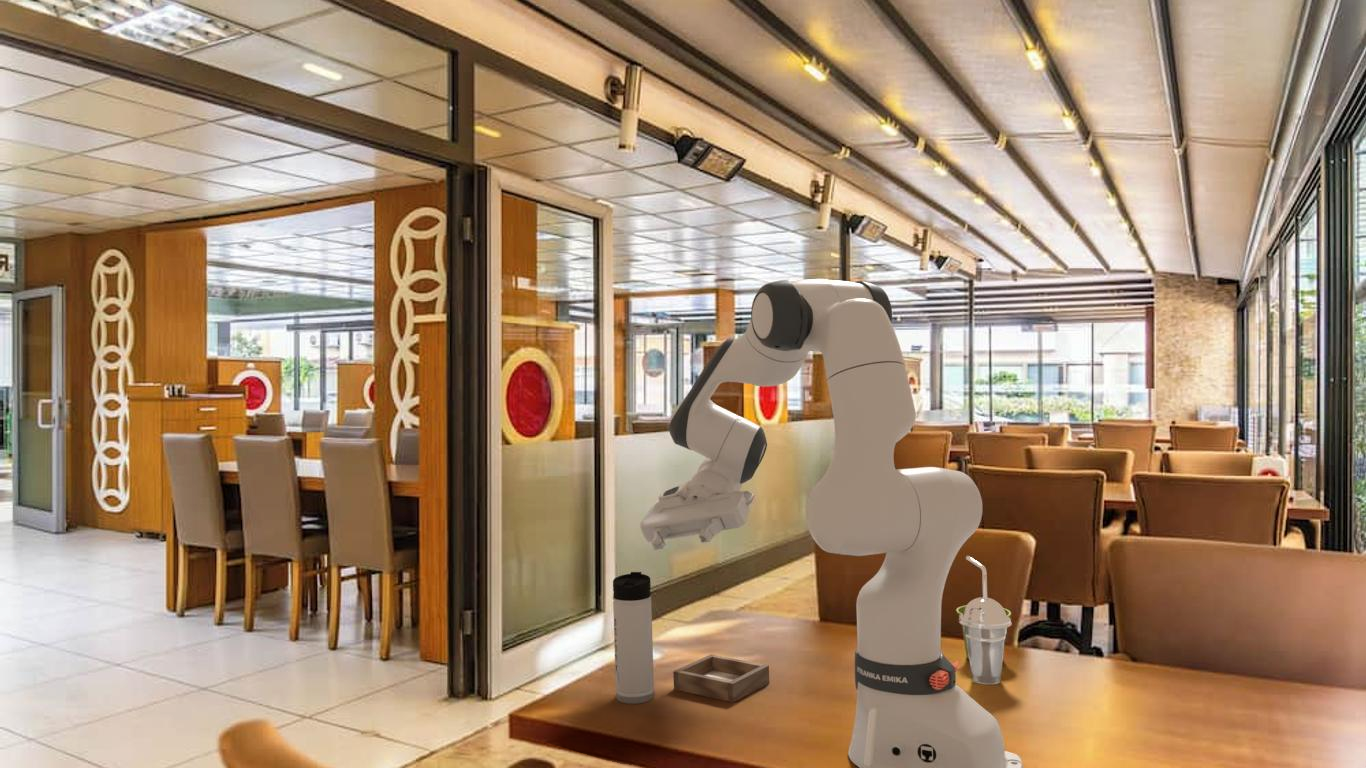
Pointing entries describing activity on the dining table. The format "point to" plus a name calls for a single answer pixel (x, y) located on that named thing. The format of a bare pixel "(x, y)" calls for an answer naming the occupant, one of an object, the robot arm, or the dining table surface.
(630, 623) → the travel mug
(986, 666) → the cup with straw
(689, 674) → the open wooden tray
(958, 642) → the dining table surface
